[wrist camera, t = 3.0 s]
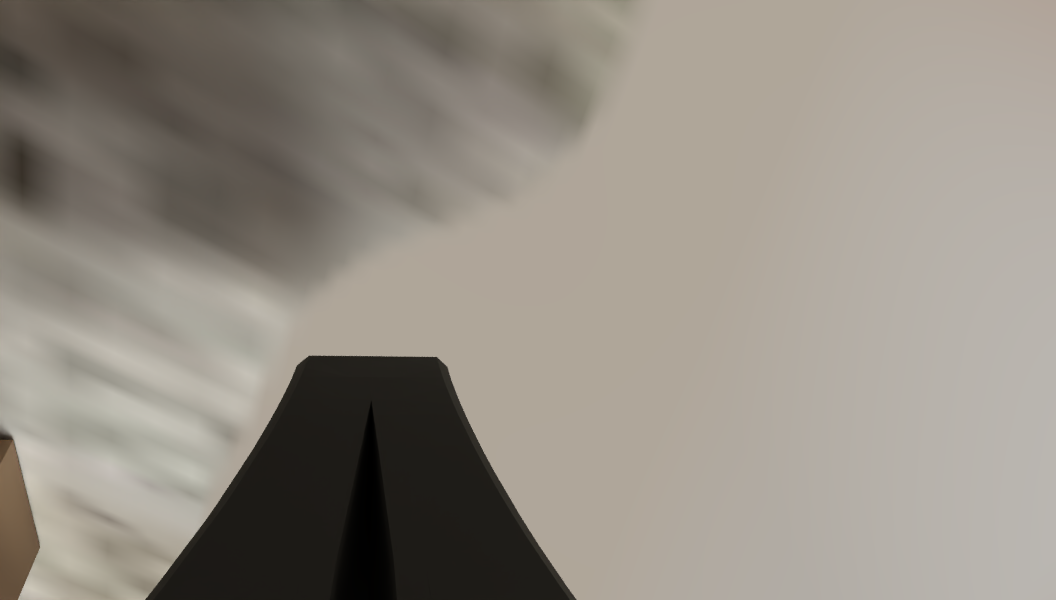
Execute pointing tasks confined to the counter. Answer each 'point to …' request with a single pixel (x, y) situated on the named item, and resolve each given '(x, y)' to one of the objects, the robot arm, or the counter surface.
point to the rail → (14, 526)
